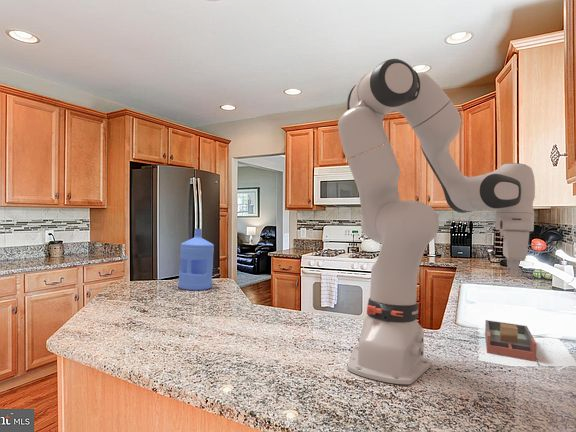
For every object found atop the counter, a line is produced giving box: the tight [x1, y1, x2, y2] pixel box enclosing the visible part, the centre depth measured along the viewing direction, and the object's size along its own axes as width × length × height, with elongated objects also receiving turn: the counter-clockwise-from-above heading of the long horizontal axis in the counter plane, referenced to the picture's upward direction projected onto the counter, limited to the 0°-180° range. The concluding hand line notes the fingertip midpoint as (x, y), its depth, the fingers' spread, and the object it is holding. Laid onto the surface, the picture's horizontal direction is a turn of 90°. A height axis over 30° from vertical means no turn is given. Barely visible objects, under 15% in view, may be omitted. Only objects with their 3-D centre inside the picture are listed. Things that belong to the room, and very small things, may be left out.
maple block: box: [500, 323, 518, 343], centre depth 103 cm, size 4×4×4 cm
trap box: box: [484, 319, 538, 362], centre depth 104 cm, size 20×11×4 cm, turn 153°
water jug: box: [177, 228, 215, 291], centre depth 172 cm, size 16×16×28 cm
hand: (512, 275), depth 97 cm, fingers open, 5 cm apart
